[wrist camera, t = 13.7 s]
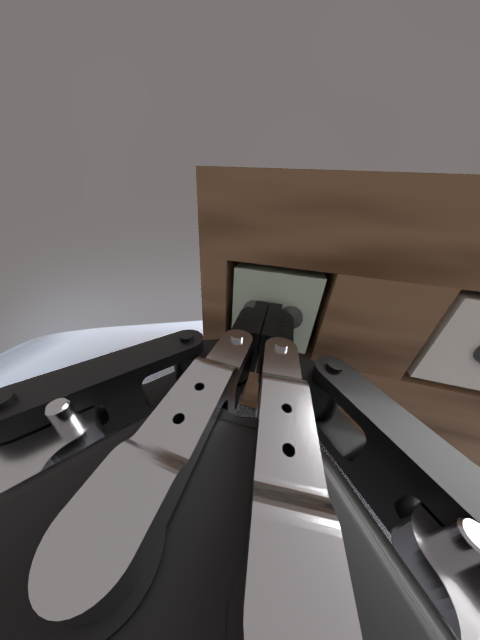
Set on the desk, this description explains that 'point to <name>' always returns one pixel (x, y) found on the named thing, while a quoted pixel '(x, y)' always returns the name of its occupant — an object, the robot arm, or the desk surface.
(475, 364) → the key one
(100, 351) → the desk surface
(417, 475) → the robot arm
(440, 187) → the brown piece
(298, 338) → the key two
